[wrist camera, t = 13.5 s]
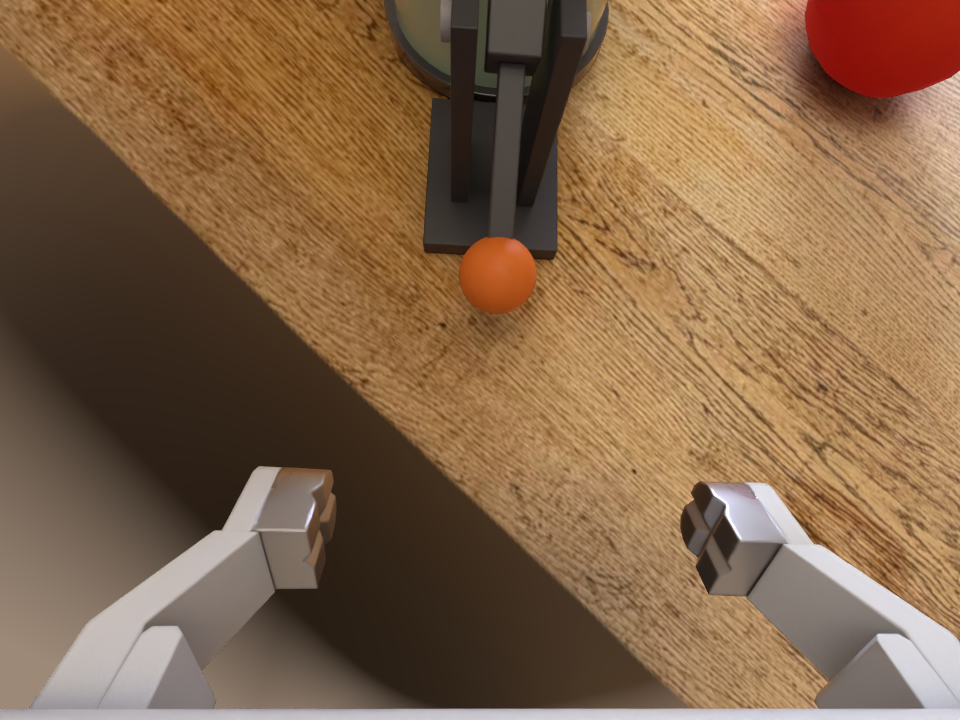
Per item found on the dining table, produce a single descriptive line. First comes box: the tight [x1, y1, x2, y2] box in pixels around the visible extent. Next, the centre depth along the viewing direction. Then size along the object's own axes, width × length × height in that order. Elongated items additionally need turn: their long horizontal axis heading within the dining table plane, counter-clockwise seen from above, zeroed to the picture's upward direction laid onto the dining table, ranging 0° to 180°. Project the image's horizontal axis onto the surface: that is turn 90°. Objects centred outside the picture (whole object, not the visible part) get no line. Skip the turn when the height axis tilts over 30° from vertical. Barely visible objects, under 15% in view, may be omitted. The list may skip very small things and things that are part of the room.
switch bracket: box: [423, 0, 591, 259], centre depth 23 cm, size 10×8×13 cm
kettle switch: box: [459, 0, 547, 314], centre depth 20 cm, size 13×4×4 cm, turn 178°
